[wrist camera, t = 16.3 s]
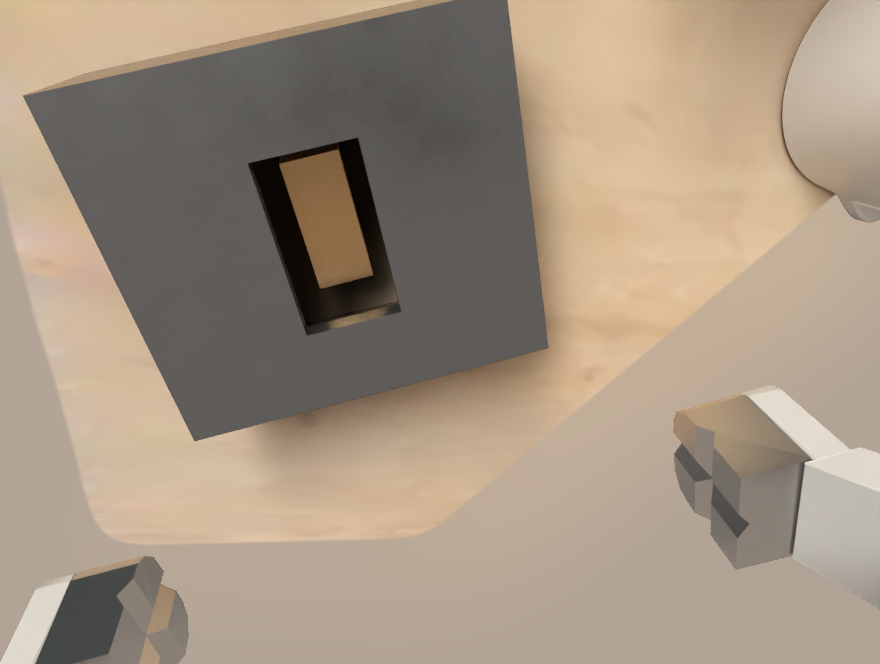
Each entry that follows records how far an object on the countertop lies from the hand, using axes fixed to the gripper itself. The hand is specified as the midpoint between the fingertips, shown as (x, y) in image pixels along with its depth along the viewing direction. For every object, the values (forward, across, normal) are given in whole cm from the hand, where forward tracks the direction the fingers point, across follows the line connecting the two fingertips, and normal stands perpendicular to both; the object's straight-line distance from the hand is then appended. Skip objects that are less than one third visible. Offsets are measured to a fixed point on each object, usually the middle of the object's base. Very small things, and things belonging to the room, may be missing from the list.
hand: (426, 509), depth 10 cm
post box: (+30, +2, +3) cm, 30 cm away
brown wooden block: (+30, +2, +3) cm, 30 cm away
